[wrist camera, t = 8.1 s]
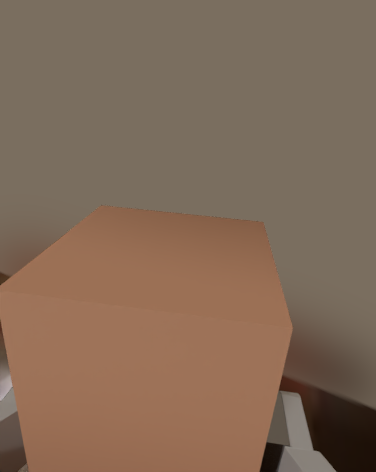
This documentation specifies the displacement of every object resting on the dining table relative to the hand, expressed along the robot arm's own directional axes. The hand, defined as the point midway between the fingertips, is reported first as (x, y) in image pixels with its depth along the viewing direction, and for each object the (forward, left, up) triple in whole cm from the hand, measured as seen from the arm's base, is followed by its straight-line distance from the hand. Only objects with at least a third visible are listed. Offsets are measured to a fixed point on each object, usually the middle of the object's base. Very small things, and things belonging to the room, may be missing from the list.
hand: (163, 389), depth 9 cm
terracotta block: (+1, -1, -6) cm, 6 cm away
